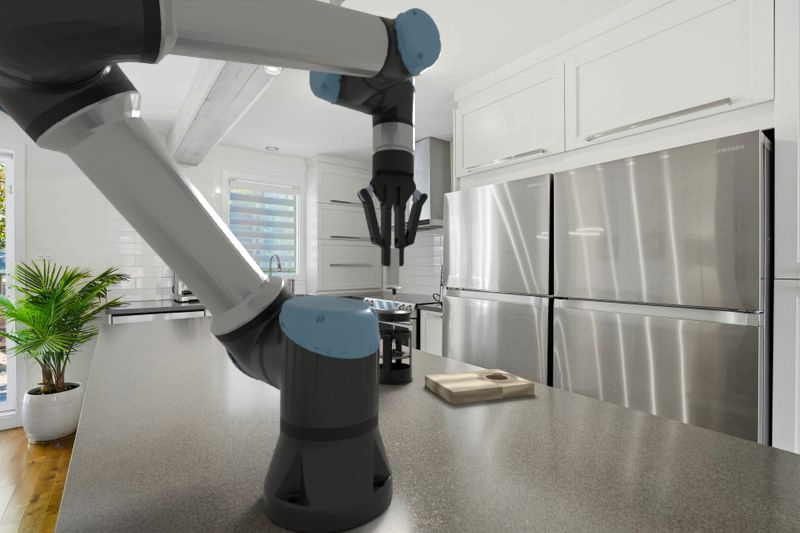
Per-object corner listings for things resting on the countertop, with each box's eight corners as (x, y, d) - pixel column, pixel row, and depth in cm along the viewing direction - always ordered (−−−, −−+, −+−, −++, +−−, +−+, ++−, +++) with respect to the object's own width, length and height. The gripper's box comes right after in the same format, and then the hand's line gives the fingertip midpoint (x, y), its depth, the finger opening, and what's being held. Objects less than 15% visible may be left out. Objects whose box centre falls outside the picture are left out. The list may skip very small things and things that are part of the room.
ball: (511, 381, 95) (501, 371, 94) (502, 393, 94) (492, 384, 93) (502, 377, 98) (493, 367, 97) (493, 388, 97) (484, 379, 96)
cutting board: (534, 394, 90) (534, 383, 91) (453, 404, 83) (453, 391, 83) (497, 378, 104) (497, 368, 104) (424, 386, 97) (424, 375, 97)
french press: (382, 373, 109) (382, 285, 109) (417, 375, 106) (417, 286, 106) (366, 385, 97) (367, 287, 98) (405, 388, 95) (405, 288, 95)
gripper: (418, 162, 80) (417, 284, 80) (352, 155, 75) (351, 284, 75) (435, 151, 73) (434, 285, 73) (363, 143, 68) (362, 286, 68)
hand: (392, 284), depth 74 cm, fingers closed
